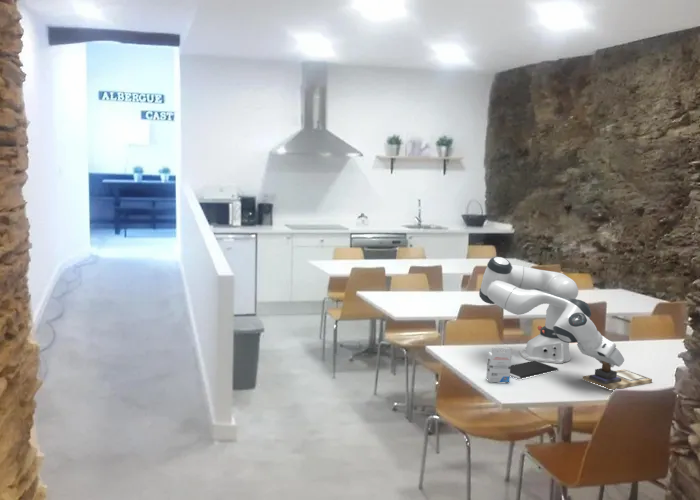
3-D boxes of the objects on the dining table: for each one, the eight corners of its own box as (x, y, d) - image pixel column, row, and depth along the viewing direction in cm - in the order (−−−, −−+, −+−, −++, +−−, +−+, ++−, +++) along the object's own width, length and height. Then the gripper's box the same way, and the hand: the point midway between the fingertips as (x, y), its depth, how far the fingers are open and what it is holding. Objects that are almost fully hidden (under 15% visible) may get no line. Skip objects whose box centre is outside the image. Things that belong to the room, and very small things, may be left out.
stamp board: (609, 390, 280) (610, 383, 280) (582, 379, 293) (583, 372, 292) (651, 382, 293) (652, 375, 293) (624, 372, 305) (624, 365, 305)
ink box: (505, 379, 288) (508, 344, 286) (509, 383, 283) (512, 348, 281) (485, 378, 287) (488, 344, 285) (489, 382, 282) (492, 347, 280)
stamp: (606, 379, 285) (608, 358, 283) (594, 375, 290) (596, 354, 289) (616, 377, 288) (618, 356, 286) (604, 373, 293) (606, 352, 292)
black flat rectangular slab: (559, 372, 304) (559, 368, 304) (519, 381, 288) (519, 377, 287) (534, 363, 314) (534, 359, 314) (494, 372, 298) (494, 368, 298)
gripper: (569, 342, 290) (584, 362, 296) (609, 356, 273) (623, 377, 279) (578, 331, 292) (592, 351, 298) (618, 344, 274) (632, 365, 280)
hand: (607, 364), depth 288 cm, fingers closed on stamp, 3 cm apart
